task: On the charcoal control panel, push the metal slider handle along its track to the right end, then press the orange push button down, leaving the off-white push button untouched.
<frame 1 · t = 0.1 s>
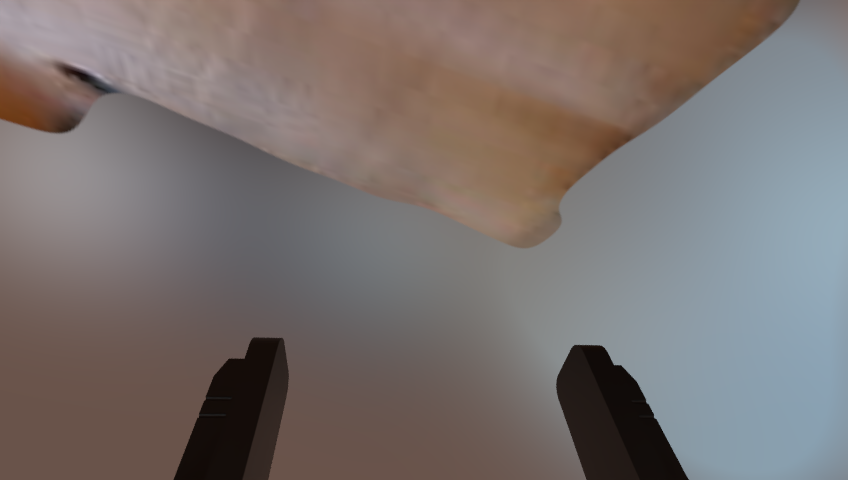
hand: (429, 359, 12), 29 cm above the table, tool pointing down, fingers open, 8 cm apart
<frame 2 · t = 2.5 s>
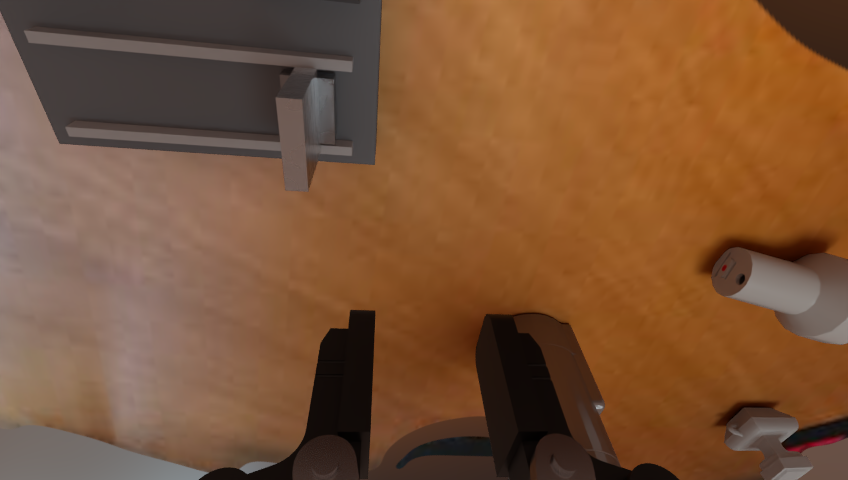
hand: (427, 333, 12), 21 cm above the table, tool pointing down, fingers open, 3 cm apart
metal slider handle: (303, 123, 23), point 6 cm above the table, slide at 0.0 cm
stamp: (745, 412, 60), on the table
spotlight: (764, 263, 42), on the table
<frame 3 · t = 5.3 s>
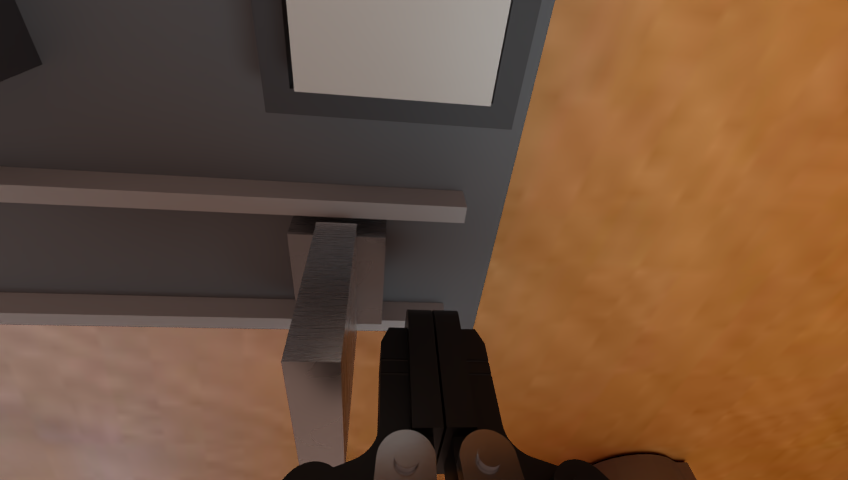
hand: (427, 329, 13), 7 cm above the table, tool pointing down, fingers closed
metal slider handle: (332, 327, 13), point 6 cm above the table, slide at 1.5 cm, touching gripper
control panel: (213, 80, 14), on the table
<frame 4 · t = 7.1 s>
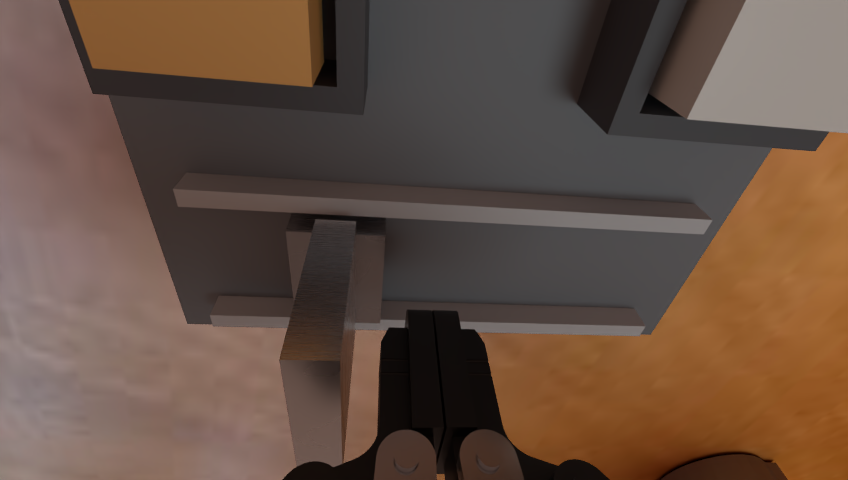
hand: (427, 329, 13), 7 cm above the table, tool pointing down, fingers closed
metal slider handle: (330, 325, 12), point 6 cm above the table, slide at 9.8 cm, touching gripper
off-white button: (795, 19, 9), point 5 cm above the table, slide at 0.0 cm
control panel: (456, 96, 15), on the table
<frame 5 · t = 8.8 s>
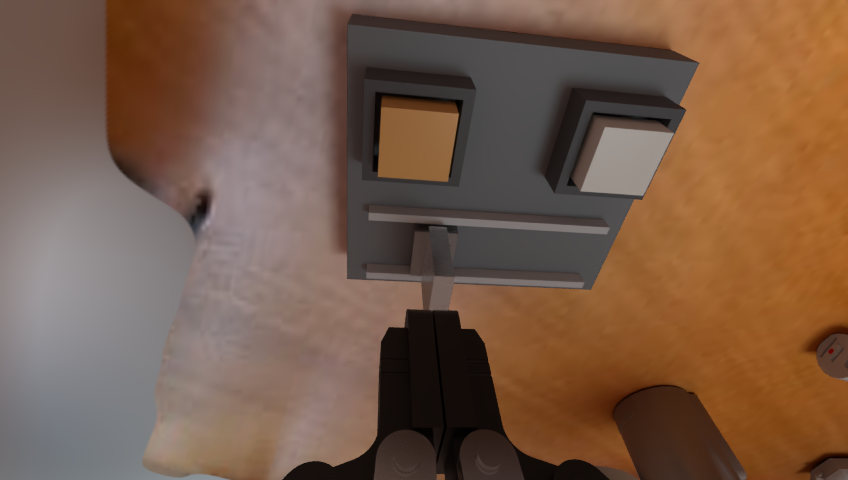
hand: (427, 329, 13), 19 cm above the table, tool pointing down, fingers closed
metal slider handle: (435, 273, 28), point 6 cm above the table, slide at 9.8 cm
off-white button: (618, 156, 25), point 5 cm above the table, slide at 0.0 cm
control panel: (488, 166, 31), on the table
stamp: (829, 461, 65), on the table
orange button: (415, 139, 23), point 5 cm above the table, slide at 0.0 cm
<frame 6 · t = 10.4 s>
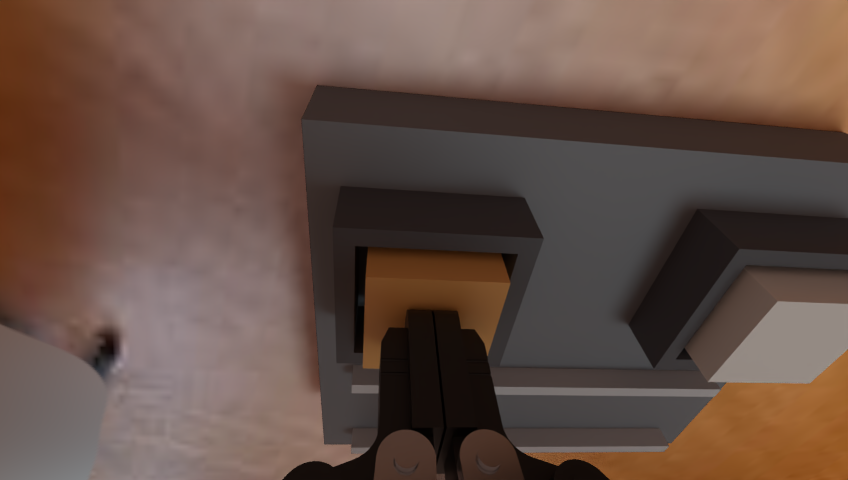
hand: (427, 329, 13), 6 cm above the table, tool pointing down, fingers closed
metal slider handle: (456, 475, 18), point 6 cm above the table, slide at 9.8 cm
off-white button: (775, 325, 14), point 5 cm above the table, slide at 0.0 cm
control panel: (534, 290, 21), on the table
orange button: (428, 307, 13), point 5 cm above the table, slide at 0.3 cm, touching gripper
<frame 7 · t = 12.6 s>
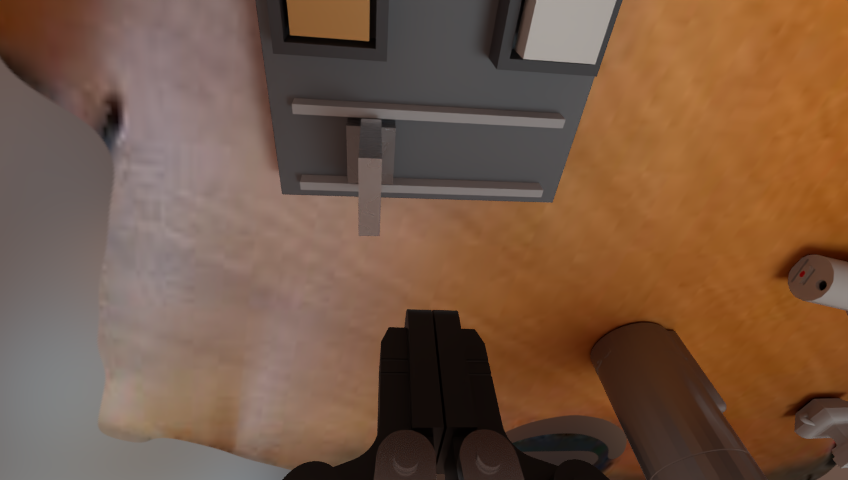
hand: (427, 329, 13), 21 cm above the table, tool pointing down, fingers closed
metal slider handle: (370, 171, 25), point 6 cm above the table, slide at 9.8 cm
off-white button: (564, 16, 22), point 6 cm above the table, slide at 0.0 cm
control panel: (431, 58, 28), on the table
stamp: (813, 402, 64), on the table
spotlight: (836, 266, 45), on the table
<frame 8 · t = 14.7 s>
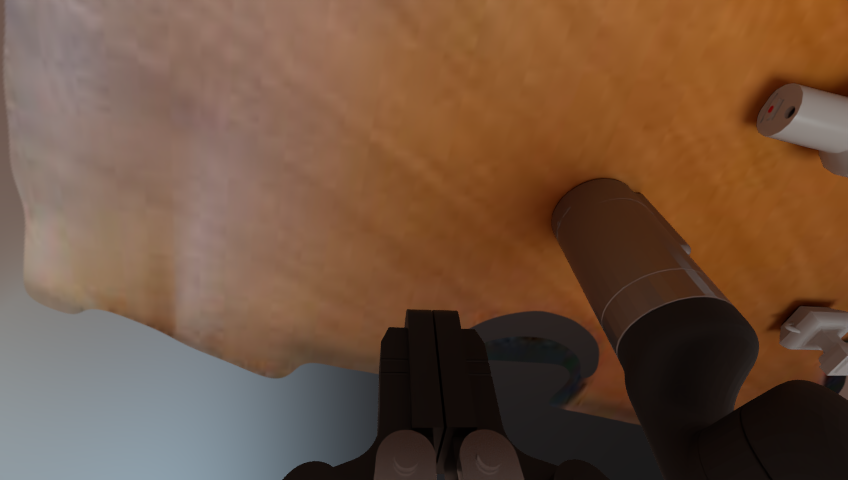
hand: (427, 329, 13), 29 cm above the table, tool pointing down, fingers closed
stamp: (800, 314, 60), on the table
spotlight: (810, 112, 41), on the table
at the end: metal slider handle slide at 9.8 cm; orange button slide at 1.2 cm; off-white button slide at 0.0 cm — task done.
